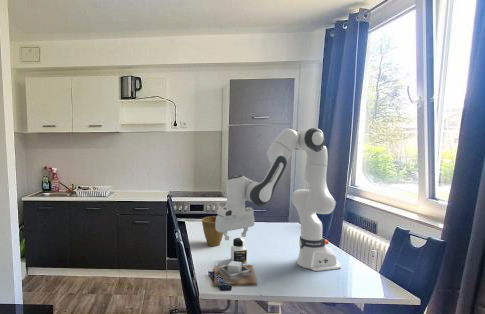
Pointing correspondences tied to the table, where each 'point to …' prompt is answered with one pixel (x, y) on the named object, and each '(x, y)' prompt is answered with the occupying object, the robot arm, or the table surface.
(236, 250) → the medicine bottle
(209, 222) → the plant pot
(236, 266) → the small box
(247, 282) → the pocket board
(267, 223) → the table surface
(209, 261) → the table surface
